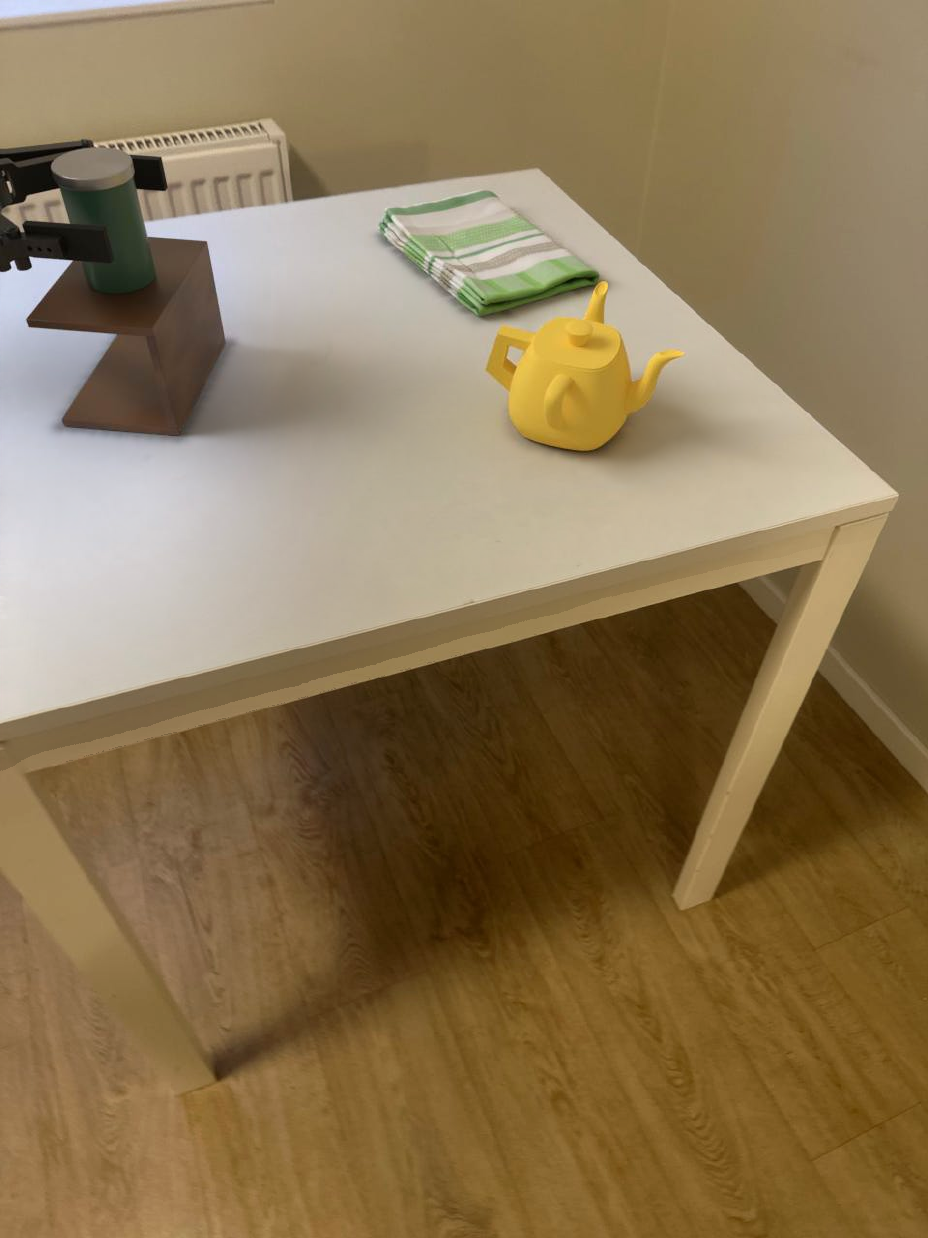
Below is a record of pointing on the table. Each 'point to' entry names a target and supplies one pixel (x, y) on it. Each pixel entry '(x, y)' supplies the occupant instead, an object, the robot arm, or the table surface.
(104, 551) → the table surface
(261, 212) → the table surface
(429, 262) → the dish towel
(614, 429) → the teapot
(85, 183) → the tin
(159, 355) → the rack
